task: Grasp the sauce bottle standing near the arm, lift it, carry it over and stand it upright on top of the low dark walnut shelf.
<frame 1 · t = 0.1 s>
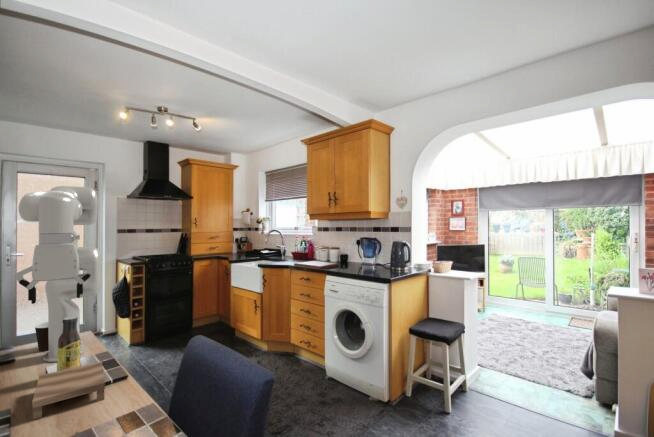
hand: (56, 299, 90), 31 cm above the table, tool pointing down, fingers open, 9 cm apart
coffee mug: (53, 347, 133), on the table
walnut shelf: (71, 395, 97), on the table
sauce bottle: (69, 376, 109), on the table
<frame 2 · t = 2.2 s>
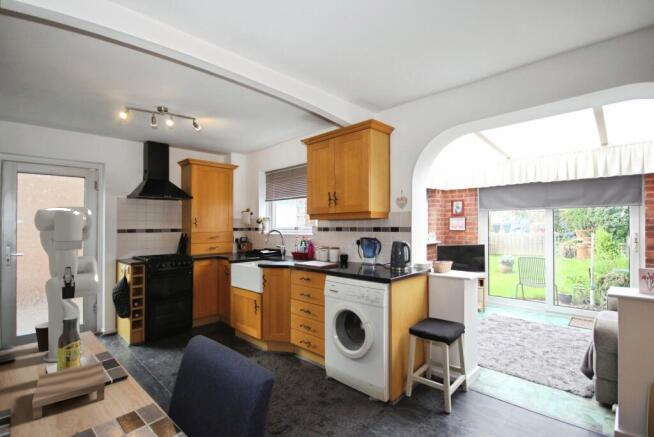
hand: (68, 295, 109), 28 cm above the table, tool pointing down, fingers open, 9 cm apart
nothing on the table moved.
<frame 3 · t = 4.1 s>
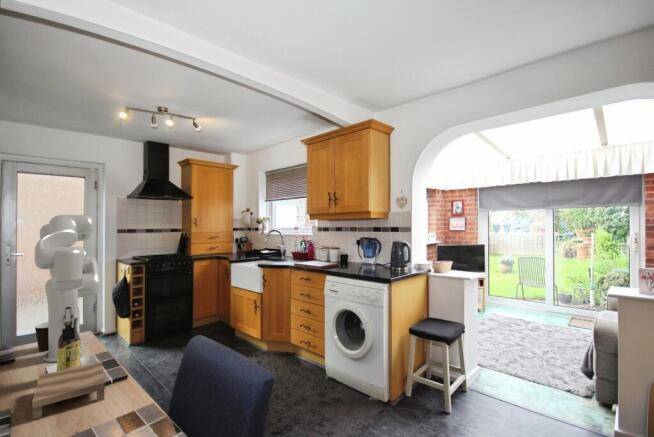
hand: (68, 336, 109), 14 cm above the table, tool pointing down, fingers open, 5 cm apart
sauce bottle: (69, 376, 109), on the table, touching gripper
everything else where it was.
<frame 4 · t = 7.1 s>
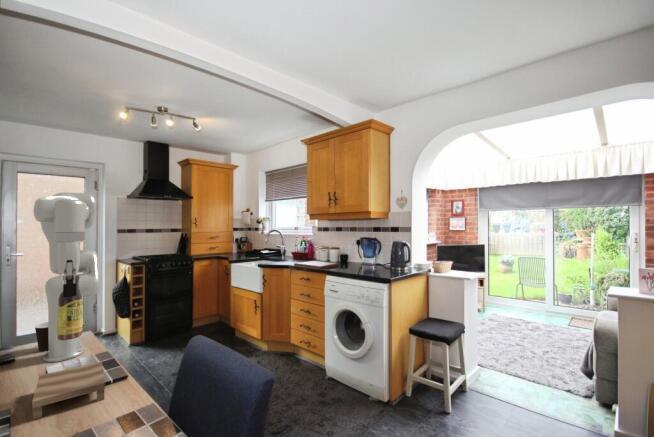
hand: (70, 294, 101), 30 cm above the table, tool pointing down, fingers closed on sauce bottle, 5 cm apart
sauce bottle: (70, 338, 101), point 16 cm above the table, touching gripper
everything else where it was.
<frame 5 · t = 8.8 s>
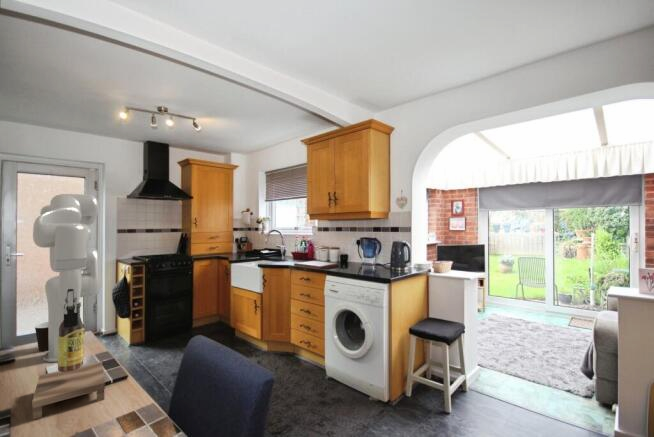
hand: (71, 323, 97), 22 cm above the table, tool pointing down, fingers closed on sauce bottle, 5 cm apart
sauce bottle: (71, 368, 97), point 8 cm above the table, touching gripper
everything else where it was.
when the fingers open (20 cm above the table, at t = 10.1 s): sauce bottle stays where it is, resting on walnut shelf.
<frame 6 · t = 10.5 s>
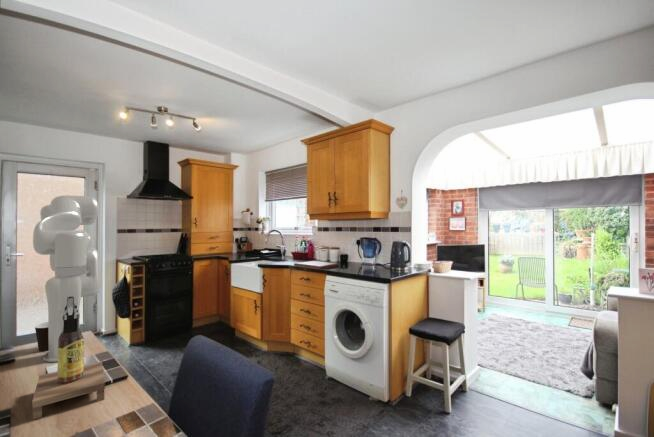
hand: (71, 327, 97), 21 cm above the table, tool pointing down, fingers open, 9 cm apart
sauce bottle: (71, 379, 97), point 5 cm above the table, touching walnut shelf
everything else where it was.
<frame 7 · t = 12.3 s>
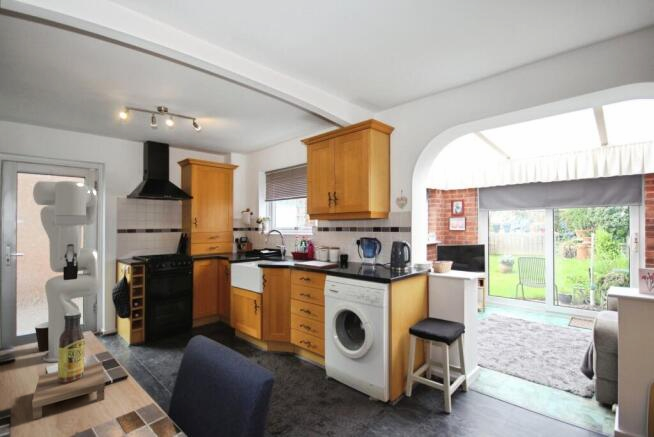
hand: (71, 276, 98), 36 cm above the table, tool pointing down, fingers open, 9 cm apart
nothing on the table moved.
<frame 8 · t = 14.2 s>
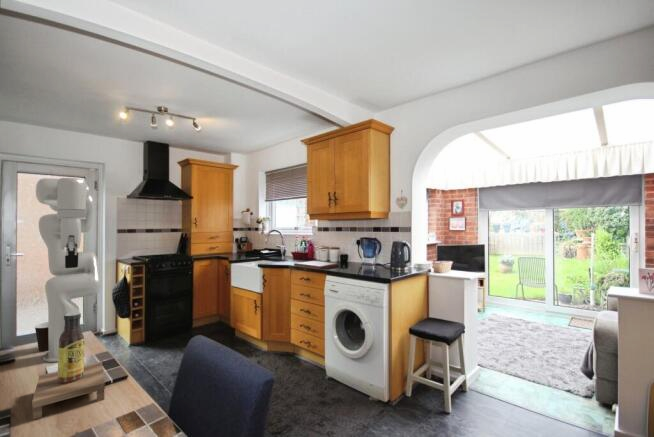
hand: (72, 265, 107), 38 cm above the table, tool pointing down, fingers open, 9 cm apart
nothing on the table moved.
at the end: sauce bottle inside the target area on the walnut shelf (0.2 cm from its centre), point 4.8 cm above the walnut shelf's base; sauce bottle tilted 0°; the gripper is holding nothing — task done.
